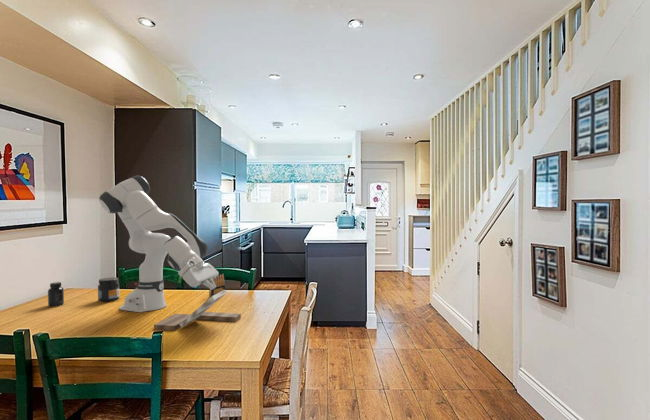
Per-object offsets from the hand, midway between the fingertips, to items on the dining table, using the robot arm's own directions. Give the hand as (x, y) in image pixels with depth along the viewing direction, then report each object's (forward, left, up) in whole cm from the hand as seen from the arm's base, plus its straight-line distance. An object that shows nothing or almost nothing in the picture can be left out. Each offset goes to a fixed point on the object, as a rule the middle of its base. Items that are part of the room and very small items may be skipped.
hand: (213, 288), depth 161 cm
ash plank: (-4, 0, -10) cm, 11 cm away
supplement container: (-79, +31, -17) cm, 87 cm away
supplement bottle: (-100, +17, -17) cm, 102 cm away
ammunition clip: (-24, +52, -17) cm, 60 cm away
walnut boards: (-9, +3, -17) cm, 19 cm away
